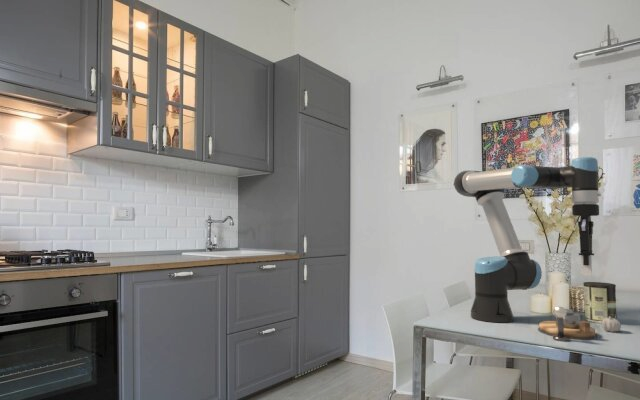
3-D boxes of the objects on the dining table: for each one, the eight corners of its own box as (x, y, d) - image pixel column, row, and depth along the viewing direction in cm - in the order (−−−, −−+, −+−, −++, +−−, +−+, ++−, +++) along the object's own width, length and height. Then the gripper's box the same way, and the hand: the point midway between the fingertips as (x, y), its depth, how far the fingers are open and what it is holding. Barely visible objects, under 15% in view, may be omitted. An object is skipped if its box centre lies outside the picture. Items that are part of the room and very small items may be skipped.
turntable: (528, 327, 143) (528, 313, 144) (565, 324, 148) (565, 311, 148) (567, 339, 128) (567, 324, 128) (607, 336, 132) (607, 321, 133)
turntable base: (532, 333, 137) (532, 332, 137) (543, 324, 150) (543, 323, 150) (594, 342, 126) (594, 341, 126) (599, 332, 139) (599, 331, 139)
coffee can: (609, 318, 161) (607, 282, 162) (622, 324, 151) (621, 285, 152) (579, 317, 163) (578, 281, 164) (591, 323, 153) (590, 284, 154)
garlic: (612, 333, 137) (611, 318, 138) (597, 330, 142) (596, 314, 143) (625, 332, 139) (625, 317, 139) (610, 328, 144) (610, 313, 144)
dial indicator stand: (551, 339, 129) (550, 306, 130) (555, 335, 135) (555, 303, 135) (567, 342, 126) (567, 308, 127) (571, 337, 132) (570, 305, 132)
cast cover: (551, 324, 140) (550, 308, 141) (567, 323, 142) (567, 307, 143) (568, 329, 134) (568, 312, 134) (585, 328, 136) (585, 311, 136)
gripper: (596, 202, 130) (598, 278, 128) (601, 204, 140) (602, 274, 138) (569, 203, 134) (570, 275, 133) (575, 204, 144) (576, 272, 143)
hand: (586, 275), depth 136 cm, fingers closed
